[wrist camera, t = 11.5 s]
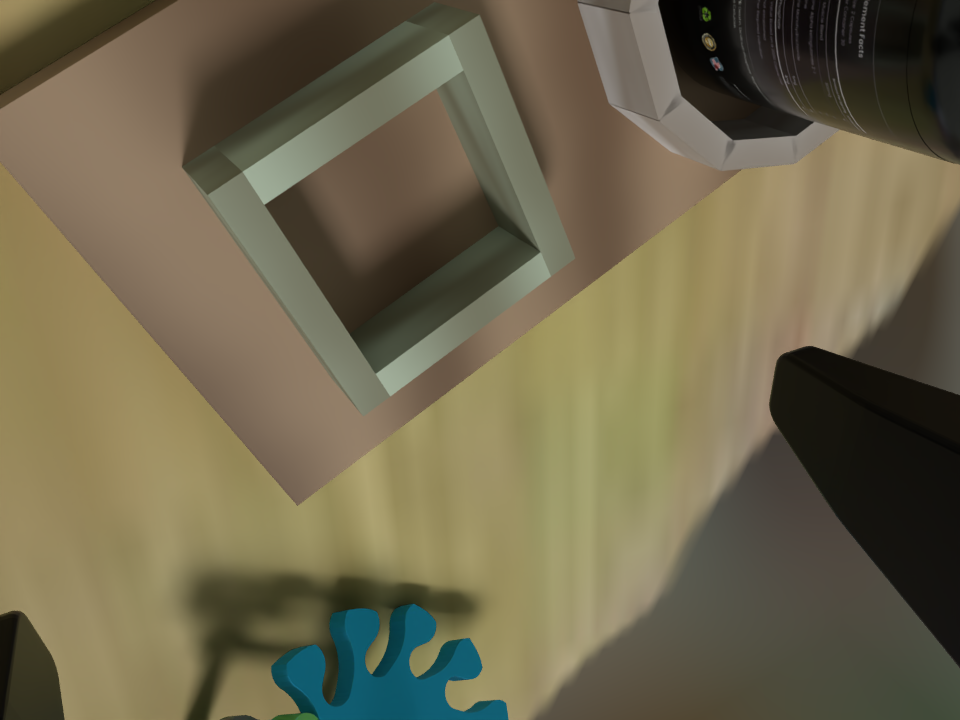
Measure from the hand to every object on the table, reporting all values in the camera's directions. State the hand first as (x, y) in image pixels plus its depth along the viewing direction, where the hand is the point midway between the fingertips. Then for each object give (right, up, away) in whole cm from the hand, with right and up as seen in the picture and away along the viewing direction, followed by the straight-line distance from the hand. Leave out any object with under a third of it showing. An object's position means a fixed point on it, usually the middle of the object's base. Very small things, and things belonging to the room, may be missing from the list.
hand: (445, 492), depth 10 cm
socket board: (+2, +9, +13) cm, 16 cm away
